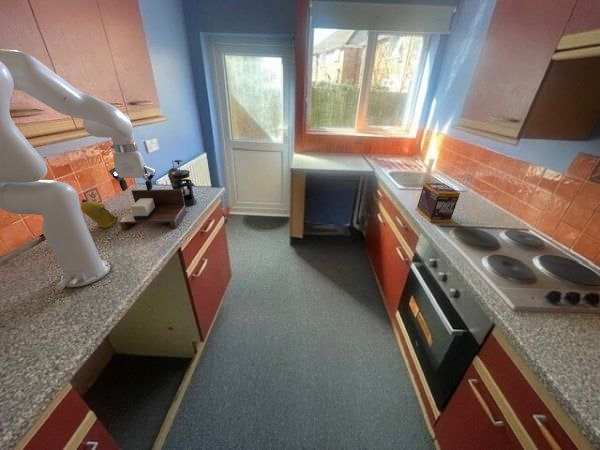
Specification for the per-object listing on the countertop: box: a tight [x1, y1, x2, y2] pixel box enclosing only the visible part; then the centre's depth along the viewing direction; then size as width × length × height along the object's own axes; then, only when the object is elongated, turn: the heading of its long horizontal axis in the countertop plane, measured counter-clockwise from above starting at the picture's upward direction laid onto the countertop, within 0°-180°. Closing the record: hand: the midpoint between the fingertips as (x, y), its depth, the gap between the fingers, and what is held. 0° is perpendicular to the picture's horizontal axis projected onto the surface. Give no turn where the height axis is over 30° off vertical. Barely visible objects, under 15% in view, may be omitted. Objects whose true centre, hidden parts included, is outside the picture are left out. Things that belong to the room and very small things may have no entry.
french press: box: [171, 159, 197, 207], centre depth 127 cm, size 12×9×23 cm
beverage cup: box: [167, 160, 183, 190], centre depth 138 cm, size 7×7×20 cm
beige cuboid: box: [130, 198, 158, 220], centre depth 111 cm, size 12×5×6 cm, turn 7°
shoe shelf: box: [119, 188, 187, 231], centre depth 112 cm, size 17×22×12 cm
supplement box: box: [416, 182, 461, 223], centre depth 125 cm, size 10×15×16 cm
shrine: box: [80, 199, 119, 229], centre depth 105 cm, size 12×8×15 cm
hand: (137, 189), depth 105 cm, fingers open, 9 cm apart
